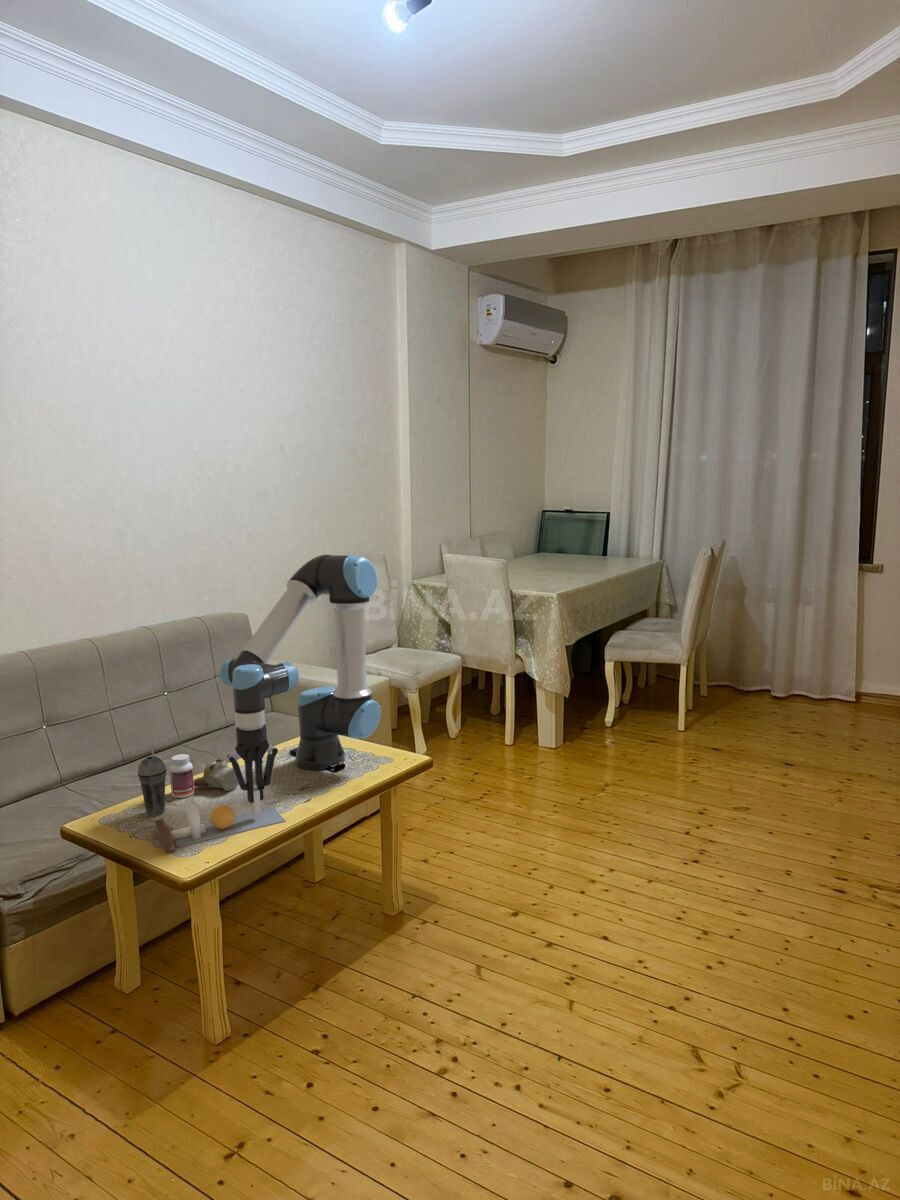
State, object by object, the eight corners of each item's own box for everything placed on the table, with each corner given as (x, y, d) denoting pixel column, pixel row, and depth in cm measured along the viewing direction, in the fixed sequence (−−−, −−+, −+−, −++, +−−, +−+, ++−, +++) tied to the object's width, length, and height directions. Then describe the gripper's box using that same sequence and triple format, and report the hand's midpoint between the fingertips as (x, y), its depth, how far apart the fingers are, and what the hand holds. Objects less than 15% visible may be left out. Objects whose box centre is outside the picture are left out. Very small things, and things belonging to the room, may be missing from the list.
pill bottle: (199, 793, 226) (196, 756, 224) (179, 800, 221) (176, 762, 219) (187, 788, 230) (184, 751, 228) (167, 795, 225) (164, 757, 223)
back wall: (164, 829, 203) (163, 818, 203) (174, 851, 191) (173, 840, 191) (155, 831, 202) (154, 820, 202) (166, 853, 190) (165, 842, 190)
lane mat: (273, 807, 215) (273, 807, 215) (285, 821, 206) (285, 820, 206) (169, 831, 202) (169, 831, 202) (177, 847, 193) (177, 846, 193)
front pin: (203, 821, 202) (168, 829, 198) (205, 825, 200) (170, 834, 196) (203, 830, 202) (168, 838, 198) (205, 834, 200) (170, 842, 196)
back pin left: (200, 835, 199) (197, 803, 198) (202, 839, 197) (199, 806, 196) (190, 837, 198) (187, 805, 197) (192, 841, 196) (189, 808, 195)
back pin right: (195, 827, 204) (193, 796, 202) (197, 831, 202) (195, 799, 200) (186, 830, 203) (183, 798, 201) (188, 833, 201) (185, 801, 199)
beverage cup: (135, 816, 211) (128, 744, 208) (154, 805, 218) (148, 735, 215) (156, 820, 209) (150, 747, 206) (175, 809, 215) (170, 738, 212)
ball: (203, 812, 203) (215, 828, 205) (209, 821, 198) (222, 838, 200) (223, 796, 205) (235, 813, 207) (229, 805, 200) (242, 822, 202)
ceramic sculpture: (223, 767, 221) (184, 762, 228) (226, 797, 222) (187, 792, 229) (249, 755, 230) (211, 751, 237) (252, 784, 231) (214, 779, 238)
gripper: (271, 717, 210) (276, 802, 214) (221, 726, 204) (227, 813, 208) (280, 725, 204) (285, 812, 207) (229, 734, 197) (235, 824, 201)
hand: (256, 812), depth 207 cm, fingers closed
